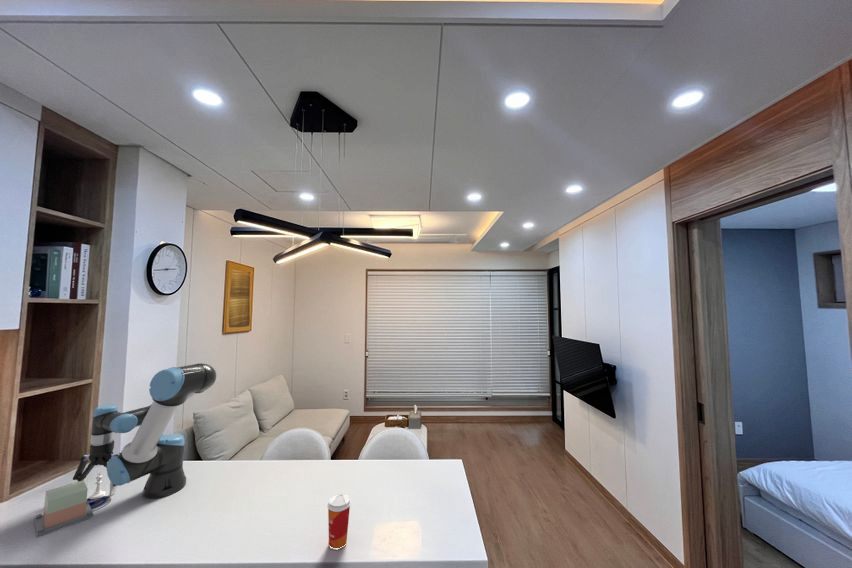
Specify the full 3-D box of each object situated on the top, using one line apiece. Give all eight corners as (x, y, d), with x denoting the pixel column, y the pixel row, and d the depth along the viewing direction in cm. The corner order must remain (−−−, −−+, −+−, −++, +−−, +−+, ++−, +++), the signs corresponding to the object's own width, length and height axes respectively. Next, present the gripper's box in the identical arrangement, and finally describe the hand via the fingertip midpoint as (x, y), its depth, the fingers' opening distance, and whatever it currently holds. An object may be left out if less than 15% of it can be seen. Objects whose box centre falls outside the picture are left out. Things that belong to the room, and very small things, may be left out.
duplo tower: (87, 503, 132) (89, 476, 133) (93, 517, 124) (95, 488, 125) (34, 521, 121) (37, 491, 122) (36, 537, 113) (40, 505, 114)
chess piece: (95, 500, 135) (97, 475, 136) (86, 498, 136) (88, 474, 136) (108, 493, 140) (110, 469, 140) (100, 491, 141) (102, 468, 141)
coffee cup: (328, 536, 116) (330, 493, 118) (351, 535, 117) (352, 492, 118) (323, 553, 108) (324, 507, 109) (347, 552, 109) (349, 507, 110)
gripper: (138, 437, 145) (134, 487, 143) (79, 439, 141) (74, 491, 140) (126, 444, 138) (121, 497, 136) (63, 447, 134) (57, 502, 132)
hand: (97, 494), depth 138 cm, fingers open, 11 cm apart
